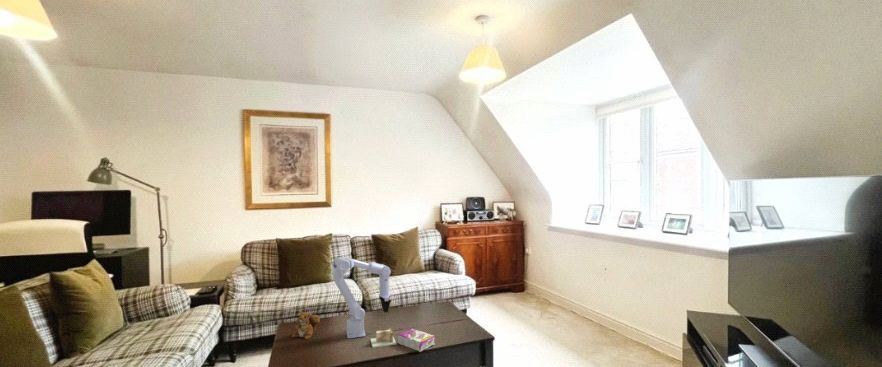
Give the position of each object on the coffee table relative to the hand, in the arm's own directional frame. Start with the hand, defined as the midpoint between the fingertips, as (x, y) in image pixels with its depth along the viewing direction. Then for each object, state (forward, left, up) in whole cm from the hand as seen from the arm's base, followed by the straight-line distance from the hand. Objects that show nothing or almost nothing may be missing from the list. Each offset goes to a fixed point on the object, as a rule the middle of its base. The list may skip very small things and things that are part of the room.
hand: (385, 310), depth 217 cm
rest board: (-4, -19, -10) cm, 22 cm away
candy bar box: (+7, -20, -8) cm, 23 cm away
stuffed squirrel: (-43, +6, -11) cm, 44 cm away
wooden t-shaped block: (-4, -19, -10) cm, 22 cm away
